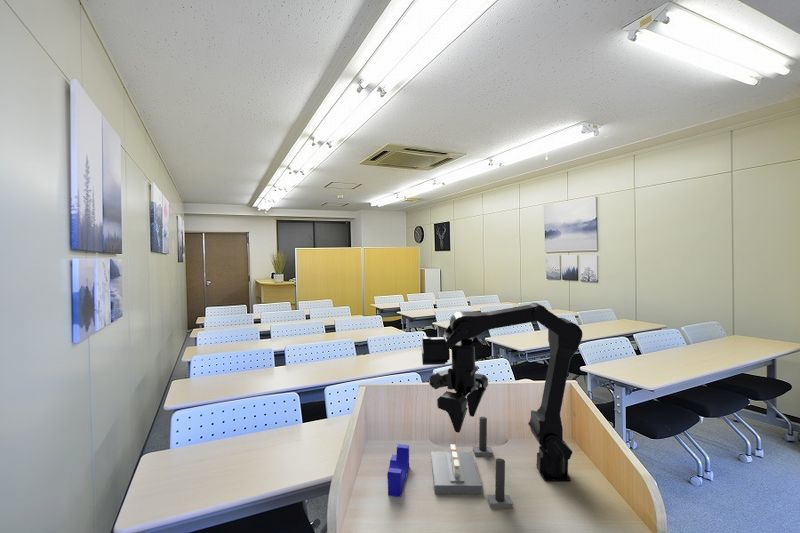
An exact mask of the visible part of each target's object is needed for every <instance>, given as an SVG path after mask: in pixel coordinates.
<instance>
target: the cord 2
mask: <svg viewBox="0 0 800 533" xmlns="http://www.w3.org/2000/svg"><path fill="white" fill-rule="evenodd" d="M505 474H506V461H505V460H504V459H503V458H501V457H500V458H496V459H495V494H487V497H486V499H487V502H488V505H489V509H513V508H514V506H513V505H514V504H513V501H512V498H511V496H510V494H506V493H505V490H506V489H505V482H506V481H505V480H506V479H505V478H506V477H505V476H506V475H505Z"/></svg>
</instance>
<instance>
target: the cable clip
mask: <svg viewBox="0 0 800 533" xmlns="http://www.w3.org/2000/svg"><path fill="white" fill-rule="evenodd" d="M409 469H410V445H409V444H401V443H400V444H399V443H397V445H396V454H392V455H391V457H390V460H389V466H388V469H387V474H386V475H387V496H389V497H396V498H401V497H402V494H403V490H404V487H405V482H406V480H405V479H407V475H408V472H409Z"/></svg>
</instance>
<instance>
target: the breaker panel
mask: <svg viewBox="0 0 800 533" xmlns="http://www.w3.org/2000/svg"><path fill="white" fill-rule="evenodd" d="M456 452H457V456H458V461H459V466H460V475H459V478H456V477H455V476H454V471H453V465H452V459H451V455H450V451H430V453H431V455H430V458H431V470H432V478H433V490H434V494H446V495H447V494H448V495H449V494H453V495H454V494H455V495H456V494H458V495H460V494H461V495H463V494H465V495H468V494H469V495H472V494H473V495H482V494H483V493H482V492H483V491H482V490H483V489H482V486H483V485H482V482H481V481H482V480H481V478H480V475H479V471H478V468H477V464H476V462H475V457H474V453H473V451H456Z"/></svg>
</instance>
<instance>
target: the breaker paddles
mask: <svg viewBox="0 0 800 533" xmlns="http://www.w3.org/2000/svg"><path fill="white" fill-rule="evenodd" d="M449 447H450V448H449V450H450V451H449V452H450V455H451V459H452V465H453V471H454V476H455V477H456V478H459V475H460V466H459V461H458V456H457V452H458V451H457V448H456V447H457V446H456V444H455V443H454V444H453V443H451V444H449Z"/></svg>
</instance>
